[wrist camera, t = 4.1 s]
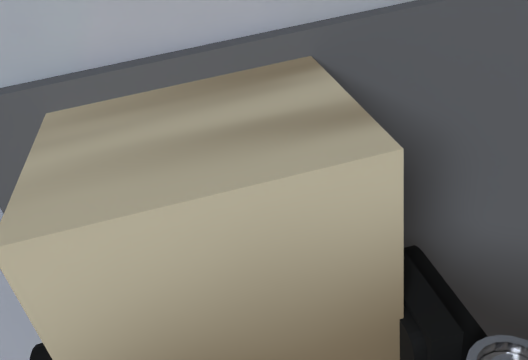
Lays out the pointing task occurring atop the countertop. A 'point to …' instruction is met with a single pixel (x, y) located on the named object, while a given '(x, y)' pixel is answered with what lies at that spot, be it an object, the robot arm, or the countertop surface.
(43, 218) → the maple block
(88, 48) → the countertop surface
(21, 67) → the countertop surface
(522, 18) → the rubber mat
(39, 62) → the countertop surface
